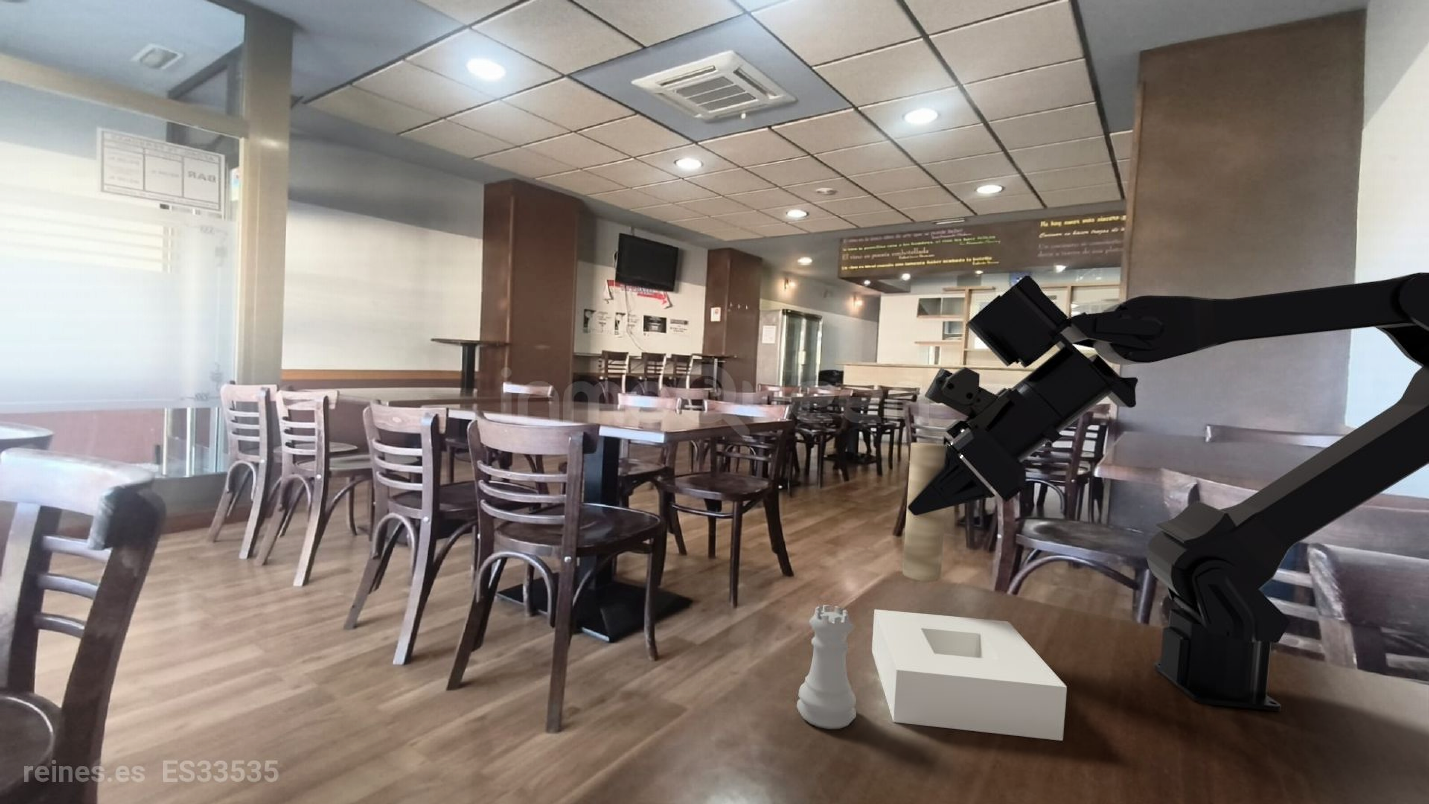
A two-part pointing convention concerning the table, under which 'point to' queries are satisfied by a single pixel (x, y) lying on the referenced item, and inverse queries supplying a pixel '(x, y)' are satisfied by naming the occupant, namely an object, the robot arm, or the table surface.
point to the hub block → (966, 675)
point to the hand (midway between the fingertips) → (911, 507)
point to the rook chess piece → (828, 673)
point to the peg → (923, 517)
